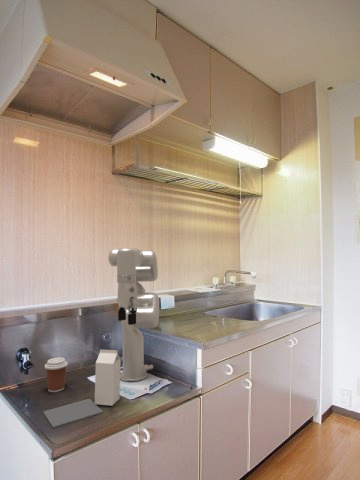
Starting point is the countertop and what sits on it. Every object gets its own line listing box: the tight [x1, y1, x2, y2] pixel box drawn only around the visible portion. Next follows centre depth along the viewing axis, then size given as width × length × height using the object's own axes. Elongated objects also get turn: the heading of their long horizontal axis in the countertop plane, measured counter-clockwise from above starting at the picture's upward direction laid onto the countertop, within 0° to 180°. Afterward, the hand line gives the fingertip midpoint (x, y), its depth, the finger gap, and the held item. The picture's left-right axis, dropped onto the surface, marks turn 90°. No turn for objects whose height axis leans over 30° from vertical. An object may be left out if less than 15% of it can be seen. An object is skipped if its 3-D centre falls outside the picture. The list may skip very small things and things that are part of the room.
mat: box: [42, 398, 104, 429], centre depth 116 cm, size 17×13×1 cm
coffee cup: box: [44, 357, 69, 393], centre depth 137 cm, size 9×9×12 cm
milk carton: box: [94, 349, 121, 406], centre depth 125 cm, size 7×7×19 cm
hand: (126, 322), depth 131 cm, fingers open, 9 cm apart
